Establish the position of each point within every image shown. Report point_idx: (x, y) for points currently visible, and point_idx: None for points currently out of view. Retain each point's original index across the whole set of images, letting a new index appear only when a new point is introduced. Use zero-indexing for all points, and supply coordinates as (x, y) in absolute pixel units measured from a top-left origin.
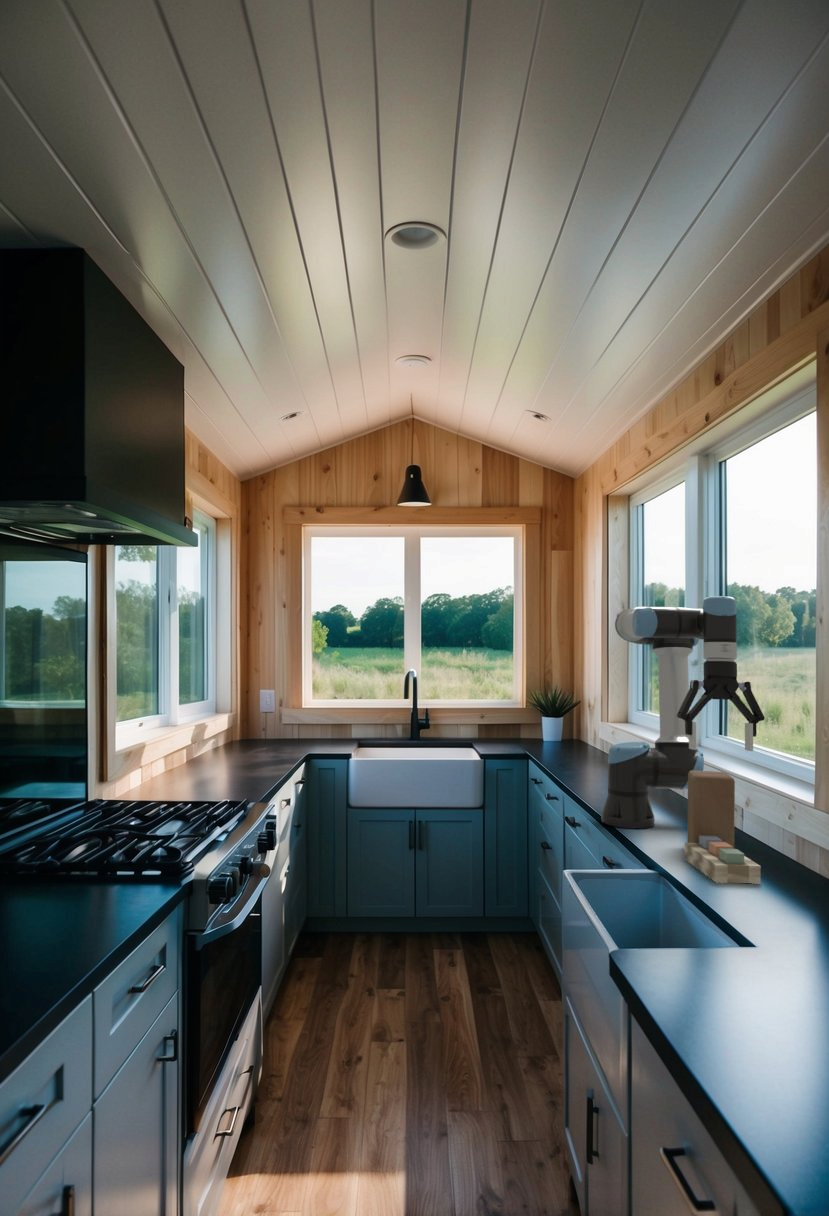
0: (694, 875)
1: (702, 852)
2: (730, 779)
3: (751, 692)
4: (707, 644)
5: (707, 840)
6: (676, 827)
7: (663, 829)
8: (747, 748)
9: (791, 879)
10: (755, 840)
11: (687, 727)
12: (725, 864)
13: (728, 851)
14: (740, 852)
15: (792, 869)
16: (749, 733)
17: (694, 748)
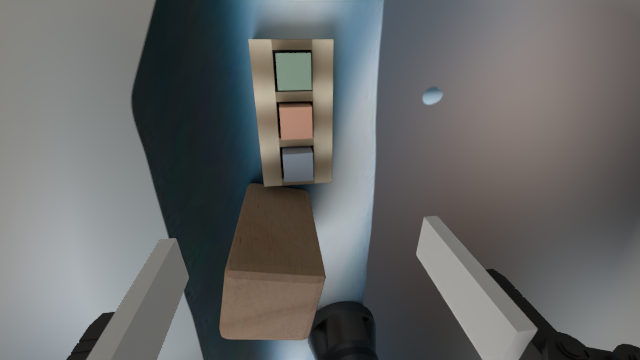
0: (345, 86)
1: (324, 125)
2: (237, 269)
3: None
4: None
5: (309, 153)
6: None
7: None
8: (179, 265)
9: (185, 75)
10: None
11: (526, 302)
12: (313, 45)
13: (301, 69)
14: (279, 63)
15: (166, 136)
16: (137, 317)
17: (434, 219)
